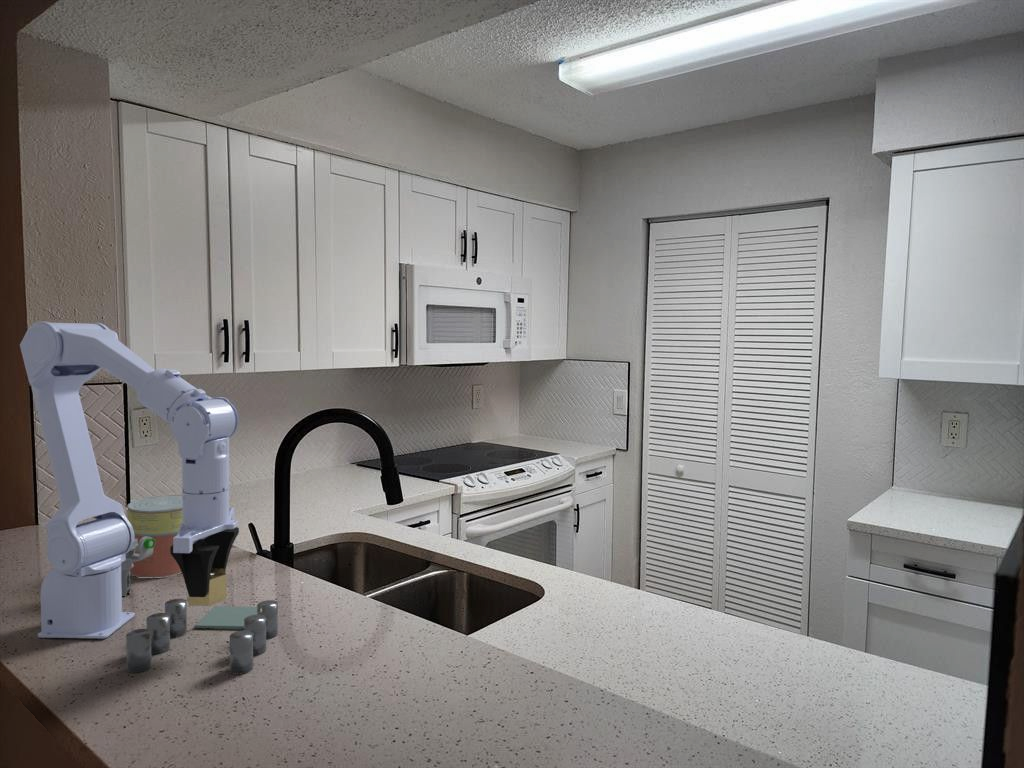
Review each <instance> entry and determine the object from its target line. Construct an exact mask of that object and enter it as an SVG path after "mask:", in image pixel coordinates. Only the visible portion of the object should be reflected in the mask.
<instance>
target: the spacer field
mask: <svg viewBox="0 0 1024 768" xmlns="http://www.w3.org/2000/svg"><path fill="white" fill-rule="evenodd" d="M187 604H188V601H187V599H185V598H174V599H169V600H167V601H165V603H164V612H159V613H158V612H157V613H154V614H151V615H148V616H147V617H146V628H138V629H137V628H136V629H135V630H132V631H129V632H128V633H126V636H125V640H126V641H125V642H126V643H125V645H126V646H125V649H126V651H125V652H126V672H127V673H131V674H139V673H143V672H146V671H147V670H149V669H151V668H152V666H153V665H152V658H153V657H152V655H159V654H158V653H160V654H163V652H164V653H165V652H168V651H169V650H170V649H171V638H177V637H176V636H179V637H181V636H180V635H182V636H184V635H186V634H187V631H188V627H187V625H188V620H187V619H188V616H187V615H188V613H187V612H188V611H187V609H188V608H187V607H188V605H187ZM256 607H257V615H251V616H248V617H246V618H245V619H244V630H236V631H235V632H232V633H231V634H230V635H229V672H230V674H232V673H234V674H233V675H241V674H240V673H244V674H246V673H245V672H247V673H249V671H250V670H251V671H252V670H253V669H254V656H253V655H255V656H260V655H263V654H264V653H265V652H266V651H267V640H268V639H273V638H275V637H277V636H278V634H279V602H278V601H277V600H272V599H267V600H262V601H260V602H257V604H256ZM185 633H186V634H185ZM183 634H184V635H183ZM151 653H152V654H151ZM259 654H260V655H259ZM151 665H152V666H151ZM251 671H250V672H251ZM235 673H236V674H235ZM237 673H238V674H237Z"/></svg>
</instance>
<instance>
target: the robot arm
mask: <svg viewBox="0 0 1024 768" xmlns="http://www.w3.org/2000/svg"><path fill="white" fill-rule="evenodd" d="M19 347H20V352H21V355H22V359H23V362H24V363H23V364H24V366H25V371H26V374H27V378H28V379H27V380H28V383H29V385H30V386H31V392H32V394H33V399H34V404H35V408H36V411H37V412H36V413H37V415H38V418H39V419H38V421H39V423H40V427H41V432H42V435H43V439H44V443H45V446H46V447H45V448H46V451H47V455H48V459H49V463H50V467H51V471H52V474H53V479H54V483H55V486H56V487H55V488H56V491H57V495H58V500H59V504H60V507H58V509H57V510H56V511H55V513H54V514H53V515H52V516H51V517H50V519H49V520H48V521H46V523H45V530H46V534H47V535H46V536H47V542H46V550H45V551H46V557H47V560H48V562H49V564H50V565H51V566H52V567H53V568H51V569H50V570H49V571H47V573H46V575H45V576H44V578H43V580H42V584H41V588H40V619H41V620H40V622H41V623H40V624H41V627H40V629H41V631H40V632H38V634H37V637H38V638H46V639H52V638H53V639H55V638H56V639H57V638H58V639H63V638H64V639H106V638H108V637H109V636H111V635H112V634H113V633H115V632H116V631H117V630H119V629H120V628H122V627H123V626H124V625H125V624H126V623H127V622H129V621H130V620H131V619H133V618H134V617H135V616H136V614H135V613H136V612H131V611H130V612H129V611H127V612H126V611H123V599H122V598H123V597H122V585H121V563H122V562H123V561H125V560H126V559H125V554H126V553H128V552H129V551H130V549H131V548H132V546H133V543H134V531H133V527H132V525H131V523H130V522H129V521H128V517H127V516H126V514H125V511H124V508H123V505H122V503H120V502H118V501H116V500H114V499H112V498H110V497H108V496H107V495H106V494H105V491H104V489H103V484H102V481H101V476H100V473H99V468H98V464H97V461H96V455H95V453H94V449H93V446H92V445H93V444H92V441H91V437H90V433H89V430H88V429H89V428H88V424H87V420H86V416H85V412H84V409H83V406H82V400H81V397H80V393H79V392H80V390H81V388H82V387H83V385H84V384H85V383H86V382H89V381H90V380H91V379H92V378H93V377H94V376H95V375H96V374H97V373H98V372H100V370H101V369H102V370H104V371H105V372H107V373H109V374H110V375H111V376H113V377H115V378H117V379H119V380H120V381H122V382H123V383H125V384H127V385H128V386H130V387H131V388H134V389H135V390H136V398H137V400H138V402H139V403H140V405H142V406H144V407H145V408H146V409H148V410H150V411H151V412H152V413H154V414H155V415H156V416H158V417H159V418H161V419H162V420H163V421H165V422H166V423H168V424H170V429H171V433H172V436H173V437H174V439H175V440H176V442H177V446H178V447H177V448H178V454H179V456H180V458H181V466H182V467H181V473H182V474H181V482H182V483H181V486H182V489H181V490H182V491H181V492H182V493H181V494H182V495H181V496H182V519H183V522H182V523H181V525H180V528H179V531H178V534H177V536H175V537H174V538H173V545H172V546H171V547H170V553H171V555H172V556H173V558H174V559H175V560H176V562H177V564H178V565H179V567H180V569H181V572H182V574H181V575H182V577H183V581H184V583H185V584H184V585H185V587H186V592H187V591H188V594H189V597H205V596H206V595H207V593H208V589H209V583H210V574H211V568H223V569H224V570H225V571H226V569H227V565H228V561H229V557H230V553H231V551H232V548H233V545H234V543H235V540H236V539H237V537H238V535H239V534H240V533H239V532H240V528H239V527H238V526H239V521H238V520H236V519H235V507H230V438H232V437H233V436H234V435H235V434H236V432H237V430H238V427H239V422H240V421H239V420H240V419H239V414H238V411H237V409H236V407H235V406H234V405H233V404H232V402H230V400H229V399H228V398H226V397H221V396H219V397H218V396H217V397H211V396H208V395H207V394H206V393H207V392H206V391H205V390H203V389H202V388H197V387H195V386H194V385H193V384H191V383H189V382H188V381H186V380H185V379H183V378H182V377H181V375H182V374H181V372H180V371H178V370H177V369H174V368H173V369H172V368H171V369H170V368H169V369H168V368H159V369H154V368H153V367H152V366H151V365H150V364H148V363H147V362H146V361H145V360H144V359H142V358H141V357H140V356H139V355H137V354H136V353H135V352H134V351H133V350H131V349H130V348H129V347H128V346H126V345H125V344H123V342H121V341H120V340H119V336H118V333H117V332H116V331H114V330H112V329H110V327H108V326H107V325H105V324H103V323H101V322H91V323H85V322H84V323H83V322H81V323H80V322H79V323H77V322H75V323H74V322H49V321H45V320H44V321H43V320H42V321H41V320H40V321H36V322H34V323H32V324H31V325H30V326H29V327H28V328H27V330H26V332H25V333H24V336H23V338H22V340H21V341H20V343H19ZM90 518H92V519H93V520H91V521H87V522H83V523H80V522H81V521H85V520H87V519H90ZM79 523H80V524H79Z"/></svg>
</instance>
